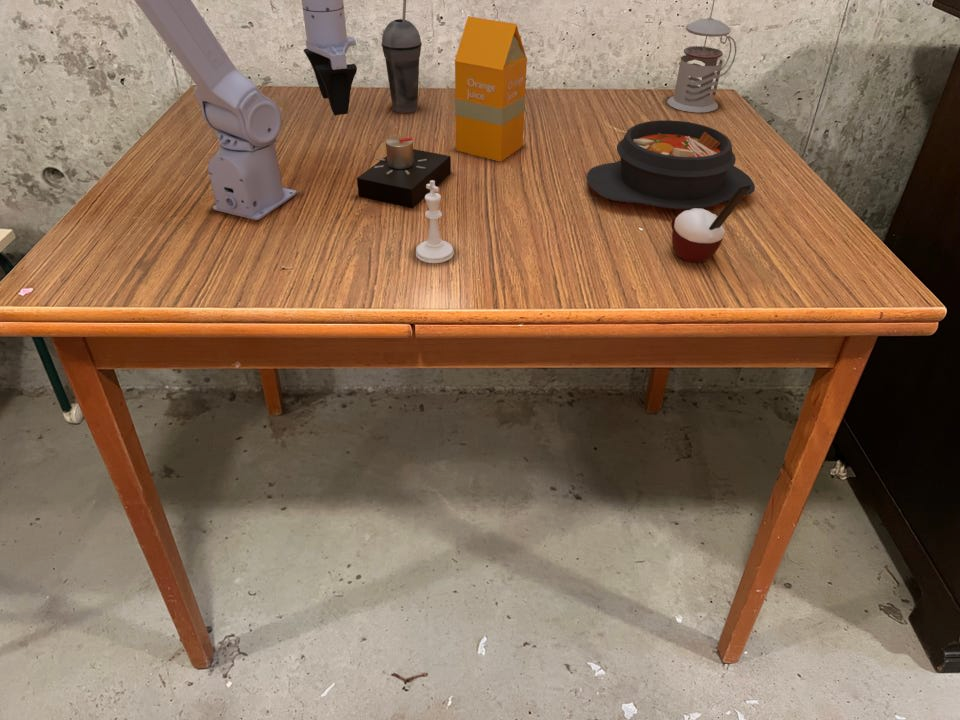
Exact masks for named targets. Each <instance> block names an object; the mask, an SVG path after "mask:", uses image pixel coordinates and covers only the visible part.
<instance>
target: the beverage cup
mask: <svg viewBox="0 0 960 720" xmlns="http://www.w3.org/2000/svg"><path fill="white" fill-rule="evenodd" d="M406 10H407V0H403V2H402V18H397V19H394V20H392V21H390V22H389V23H388V24H387V25H386V27H385V28H384V30H383V31H382V32H383V33H382V36H381V37H382V38H381V44H380V45H381V47H382V52H383V56H384V58H385V59H384V60H385V66H386V73H387V79H388V87H389V93H390V99H391V103H392V109H393V111H394V112H396V113H399V114H400V113H401V114H409V113H413V112H415V111H417V109H418V101H419V79H420V78H419V77H420V57H421V53H422V45H423V43H422V39H421V35H420V33H419V30H418V28H417V27H416V26H415V24H414V23H412V22H411V21H410V20H407V19H406V14H407V13H406V12H407V11H406Z"/></svg>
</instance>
